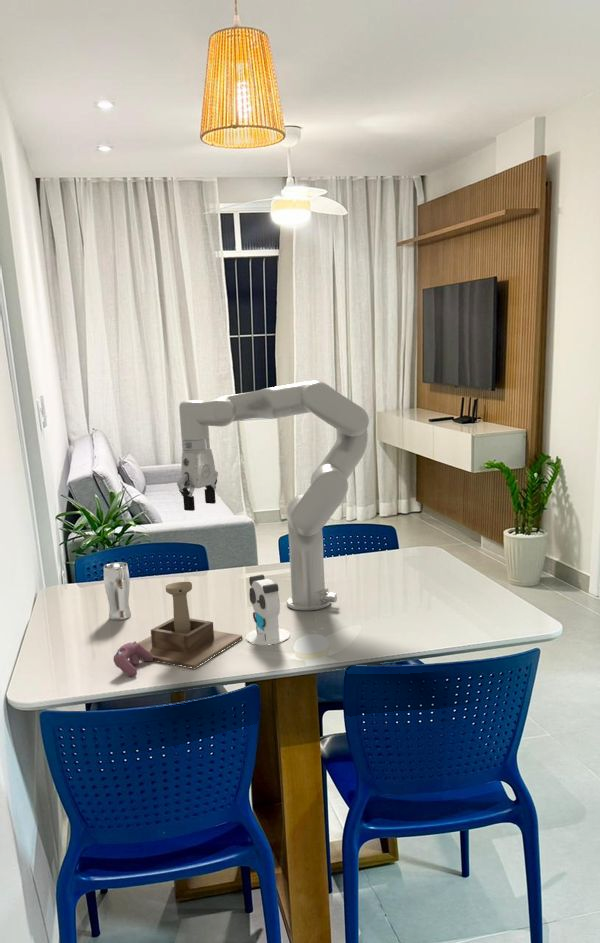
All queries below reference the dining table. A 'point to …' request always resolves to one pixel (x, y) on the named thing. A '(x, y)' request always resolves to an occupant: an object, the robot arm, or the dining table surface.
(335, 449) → the robot arm
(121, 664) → the video game controller
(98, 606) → the dining table surface
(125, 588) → the beer glass
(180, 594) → the handle
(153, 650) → the holder
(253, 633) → the panda figurine
